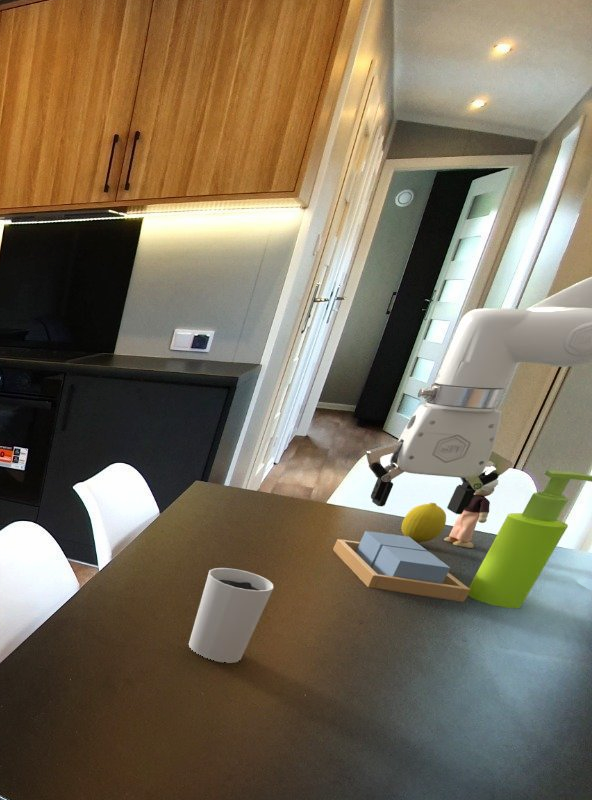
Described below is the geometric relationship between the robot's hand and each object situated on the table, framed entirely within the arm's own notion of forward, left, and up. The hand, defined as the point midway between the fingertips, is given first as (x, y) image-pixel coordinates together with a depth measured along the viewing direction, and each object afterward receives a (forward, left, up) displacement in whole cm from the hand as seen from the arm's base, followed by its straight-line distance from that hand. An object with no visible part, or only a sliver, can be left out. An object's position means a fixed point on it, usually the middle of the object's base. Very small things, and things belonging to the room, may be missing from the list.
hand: (415, 507), depth 102 cm
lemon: (-9, -17, -11) cm, 23 cm away
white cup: (+32, +45, -11) cm, 56 cm away
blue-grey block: (+1, +8, -10) cm, 13 cm away
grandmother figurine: (-17, -22, -11) cm, 30 cm away
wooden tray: (+1, +4, -11) cm, 11 cm away
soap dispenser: (-10, +9, -11) cm, 18 cm away
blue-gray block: (+1, 0, -10) cm, 10 cm away
